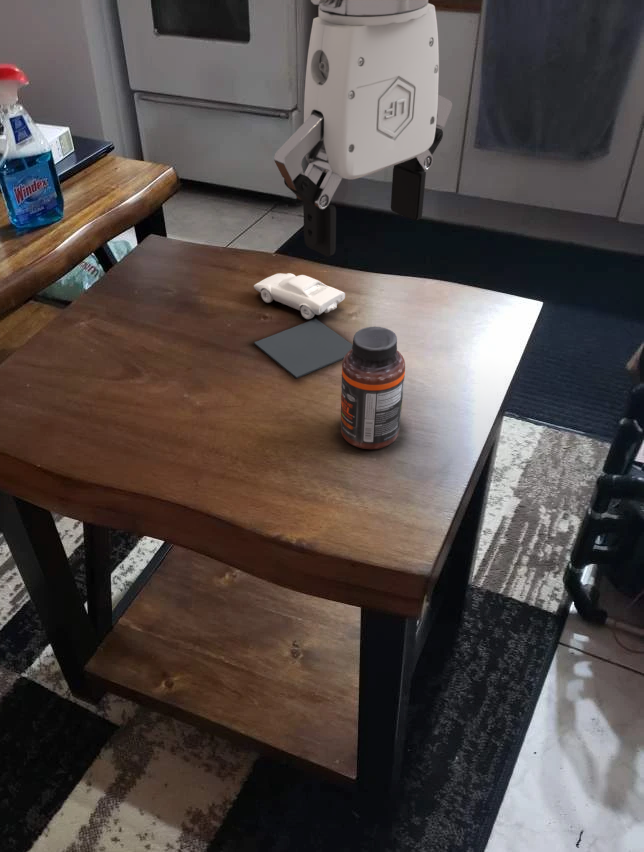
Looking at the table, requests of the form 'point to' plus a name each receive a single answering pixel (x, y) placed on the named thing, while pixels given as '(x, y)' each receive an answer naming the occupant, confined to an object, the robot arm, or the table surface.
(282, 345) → the mat
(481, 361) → the table surface
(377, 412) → the supplement bottle
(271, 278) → the toy car
